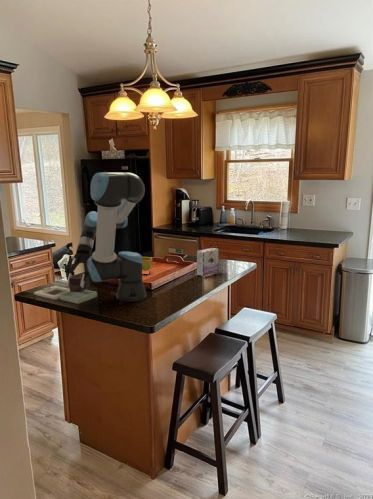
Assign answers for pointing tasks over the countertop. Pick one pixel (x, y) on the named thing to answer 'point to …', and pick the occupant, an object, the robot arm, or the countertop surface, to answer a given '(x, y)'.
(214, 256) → the candy box
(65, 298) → the tray
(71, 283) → the box
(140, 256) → the robot arm
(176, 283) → the countertop surface
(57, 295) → the socket block
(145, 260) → the plant pot
